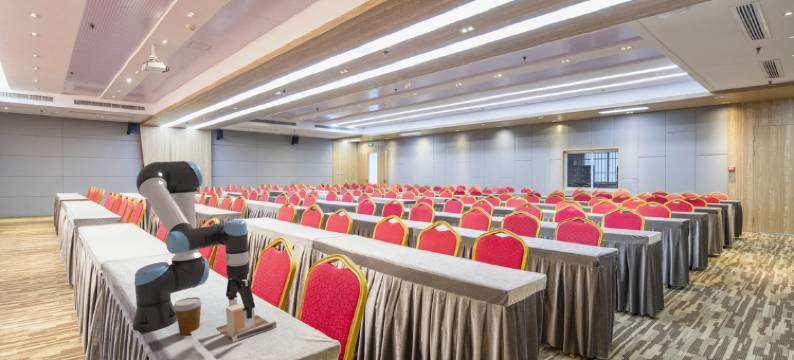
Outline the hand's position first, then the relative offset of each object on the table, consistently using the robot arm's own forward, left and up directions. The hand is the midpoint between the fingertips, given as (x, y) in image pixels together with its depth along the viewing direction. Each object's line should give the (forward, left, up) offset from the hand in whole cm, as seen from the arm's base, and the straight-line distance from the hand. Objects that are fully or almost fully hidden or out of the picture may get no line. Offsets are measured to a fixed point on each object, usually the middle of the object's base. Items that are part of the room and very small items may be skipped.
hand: (241, 321), depth 141 cm
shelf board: (-4, +3, -6) cm, 7 cm away
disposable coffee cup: (-19, -12, -6) cm, 23 cm away
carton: (0, 0, -4) cm, 4 cm away
